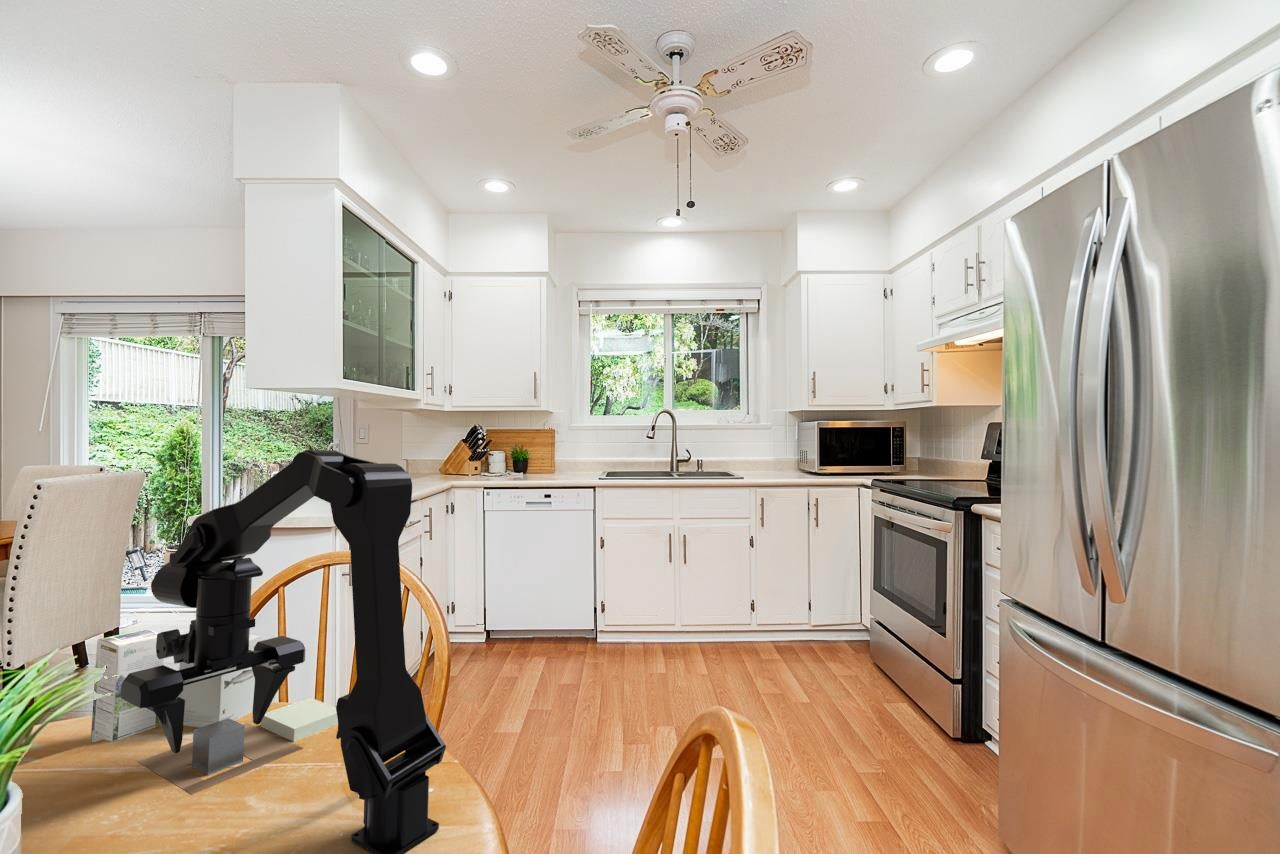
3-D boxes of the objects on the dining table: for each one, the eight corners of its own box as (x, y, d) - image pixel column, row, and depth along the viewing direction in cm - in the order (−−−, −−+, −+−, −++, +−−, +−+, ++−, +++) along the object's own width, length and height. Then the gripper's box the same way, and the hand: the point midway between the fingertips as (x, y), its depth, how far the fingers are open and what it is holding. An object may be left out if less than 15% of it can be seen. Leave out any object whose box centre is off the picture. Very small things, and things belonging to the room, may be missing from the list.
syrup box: (138, 727, 89) (143, 627, 90) (160, 736, 87) (165, 633, 87) (89, 744, 84) (95, 637, 85) (111, 753, 81) (117, 644, 82)
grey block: (242, 773, 77) (244, 725, 77) (207, 788, 74) (209, 737, 74) (226, 765, 79) (228, 718, 79) (191, 779, 76) (193, 729, 76)
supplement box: (217, 740, 86) (221, 649, 86) (173, 735, 87) (178, 645, 88) (259, 718, 93) (263, 634, 93) (219, 713, 94) (222, 631, 95)
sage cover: (343, 735, 89) (344, 710, 89) (293, 755, 82) (294, 729, 83) (309, 721, 93) (310, 697, 93) (260, 739, 87) (261, 714, 87)
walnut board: (302, 759, 81) (303, 747, 81) (190, 807, 70) (191, 794, 70) (247, 733, 88) (247, 723, 88) (137, 773, 77) (137, 761, 77)
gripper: (265, 590, 89) (260, 698, 89) (104, 618, 73) (97, 751, 73) (309, 600, 84) (305, 716, 83) (146, 633, 68) (138, 777, 67)
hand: (218, 737), depth 77 cm, fingers open, 9 cm apart
